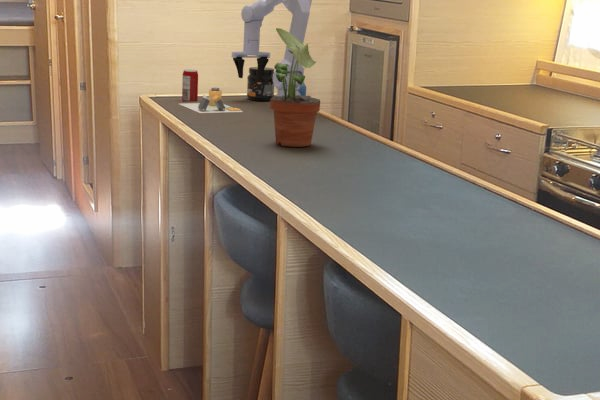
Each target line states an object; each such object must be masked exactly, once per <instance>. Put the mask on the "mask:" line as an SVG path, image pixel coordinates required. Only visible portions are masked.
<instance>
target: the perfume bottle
mask: <svg viewBox="0 0 600 400" xmlns="http://www.w3.org/2000/svg"><path fill="white" fill-rule="evenodd" d="M298 92H299V93H300V94H301V95H304V96H307V86H306V84H305V82H303V84H302V86H301V87H300V89H298Z"/></svg>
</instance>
